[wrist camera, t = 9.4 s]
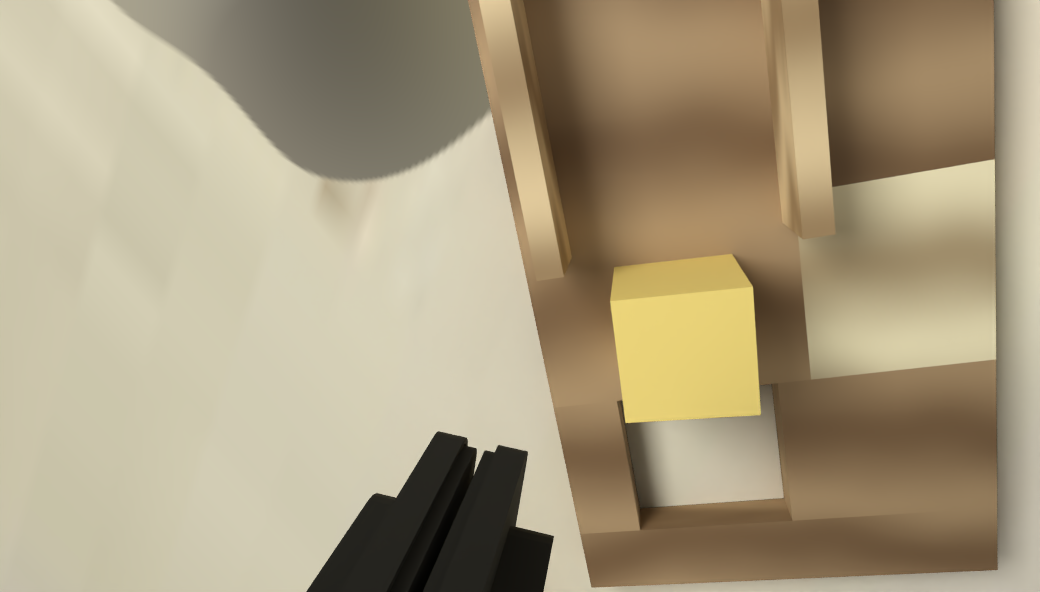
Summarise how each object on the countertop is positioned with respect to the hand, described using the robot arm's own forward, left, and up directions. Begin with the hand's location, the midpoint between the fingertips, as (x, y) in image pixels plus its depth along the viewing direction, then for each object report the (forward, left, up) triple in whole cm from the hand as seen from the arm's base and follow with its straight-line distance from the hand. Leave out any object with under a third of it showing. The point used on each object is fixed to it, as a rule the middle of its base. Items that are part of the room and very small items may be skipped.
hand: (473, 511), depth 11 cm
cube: (-2, -4, -15) cm, 16 cm away
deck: (-1, -7, -17) cm, 18 cm away
